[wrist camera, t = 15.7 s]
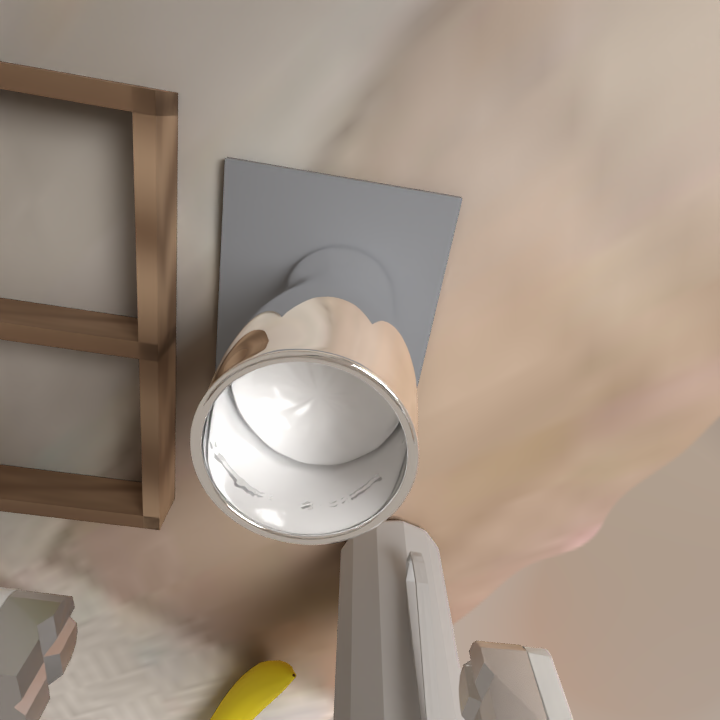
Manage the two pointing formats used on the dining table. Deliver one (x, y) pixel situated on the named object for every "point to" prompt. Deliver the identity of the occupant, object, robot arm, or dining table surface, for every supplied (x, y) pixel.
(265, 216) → the charcoal mat
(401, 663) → the water bottle
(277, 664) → the banana
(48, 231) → the dining table surface
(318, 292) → the beer glass
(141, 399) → the frame
